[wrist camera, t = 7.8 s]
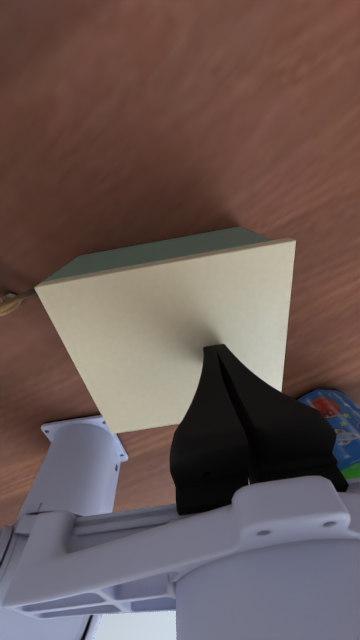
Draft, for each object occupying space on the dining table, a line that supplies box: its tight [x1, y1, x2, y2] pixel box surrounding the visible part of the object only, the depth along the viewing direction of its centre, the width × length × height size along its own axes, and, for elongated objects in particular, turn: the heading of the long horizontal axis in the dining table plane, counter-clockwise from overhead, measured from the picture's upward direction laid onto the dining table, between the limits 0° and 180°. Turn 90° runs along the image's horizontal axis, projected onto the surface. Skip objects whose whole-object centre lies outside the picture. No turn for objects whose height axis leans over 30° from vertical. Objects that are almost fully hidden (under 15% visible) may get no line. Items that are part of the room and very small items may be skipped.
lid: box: [34, 238, 296, 434], centre depth 14 cm, size 13×13×1 cm
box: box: [43, 226, 272, 282], centre depth 17 cm, size 13×13×6 cm
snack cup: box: [297, 389, 360, 479], centre depth 23 cm, size 16×10×10 cm
